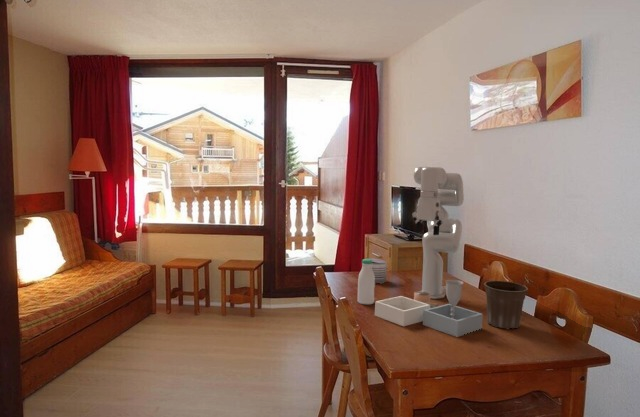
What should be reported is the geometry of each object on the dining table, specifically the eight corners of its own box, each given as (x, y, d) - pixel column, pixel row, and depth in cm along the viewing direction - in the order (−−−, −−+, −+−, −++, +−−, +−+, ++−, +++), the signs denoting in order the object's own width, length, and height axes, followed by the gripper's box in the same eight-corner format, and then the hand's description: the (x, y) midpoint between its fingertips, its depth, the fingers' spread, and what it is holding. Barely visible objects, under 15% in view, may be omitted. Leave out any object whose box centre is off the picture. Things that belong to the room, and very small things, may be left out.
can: (365, 278, 256) (366, 257, 255) (385, 279, 255) (386, 258, 254) (364, 283, 245) (365, 261, 244) (386, 284, 244) (386, 262, 243)
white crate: (400, 309, 200) (401, 295, 199) (429, 319, 187) (430, 304, 186) (374, 315, 190) (375, 301, 189) (403, 326, 177) (404, 311, 177)
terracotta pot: (420, 305, 205) (421, 290, 205) (432, 309, 200) (433, 294, 199) (410, 308, 201) (410, 292, 201) (422, 312, 196) (423, 296, 195)
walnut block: (426, 313, 195) (426, 301, 195) (437, 315, 193) (438, 303, 192) (422, 316, 191) (423, 304, 191) (434, 318, 188) (434, 306, 188)
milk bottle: (373, 305, 204) (375, 261, 202) (356, 304, 206) (357, 260, 204) (374, 300, 212) (376, 258, 210) (358, 299, 213) (359, 257, 211)
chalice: (440, 323, 182) (442, 279, 180) (456, 323, 182) (459, 279, 181) (446, 330, 175) (449, 284, 173) (463, 329, 175) (466, 284, 174)
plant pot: (526, 334, 172) (529, 292, 171) (481, 328, 178) (484, 287, 176) (523, 321, 188) (526, 283, 186) (482, 316, 193) (484, 279, 192)
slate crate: (447, 317, 190) (448, 303, 189) (481, 328, 177) (482, 313, 176) (422, 324, 180) (423, 310, 179) (457, 337, 167) (457, 321, 167)
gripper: (450, 196, 196) (448, 235, 197) (419, 194, 209) (417, 230, 211) (439, 196, 191) (437, 236, 193) (408, 194, 205) (406, 231, 206)
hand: (427, 233), depth 202 cm, fingers open, 9 cm apart
